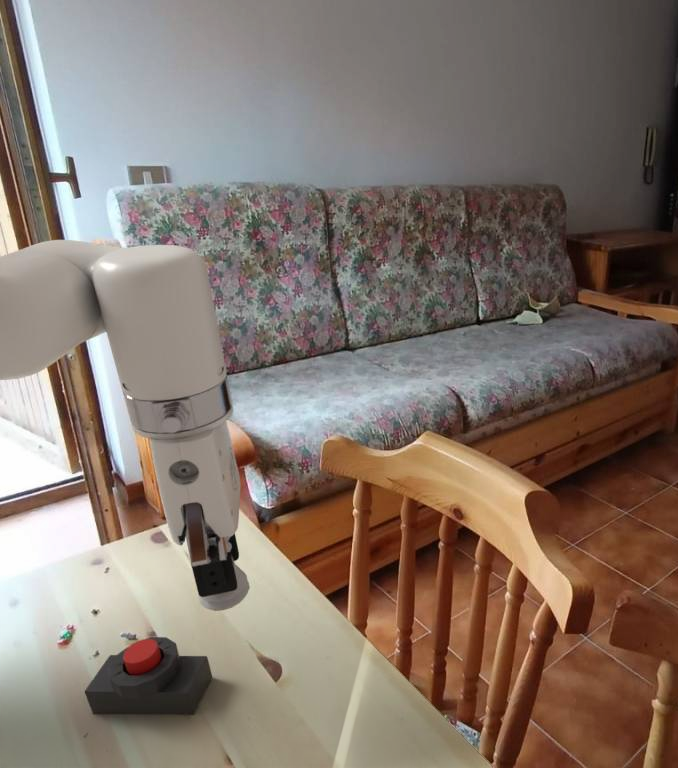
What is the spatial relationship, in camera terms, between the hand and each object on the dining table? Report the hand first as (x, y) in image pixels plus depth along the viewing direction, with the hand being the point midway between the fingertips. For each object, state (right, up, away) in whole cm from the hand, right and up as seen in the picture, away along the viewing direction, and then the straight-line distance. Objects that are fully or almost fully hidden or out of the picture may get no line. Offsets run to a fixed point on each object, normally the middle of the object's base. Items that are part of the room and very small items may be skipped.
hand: (220, 574), depth 59 cm
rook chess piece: (0, -3, +1) cm, 3 cm away
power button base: (-9, -14, +5) cm, 18 cm away
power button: (-9, -10, +4) cm, 14 cm away
